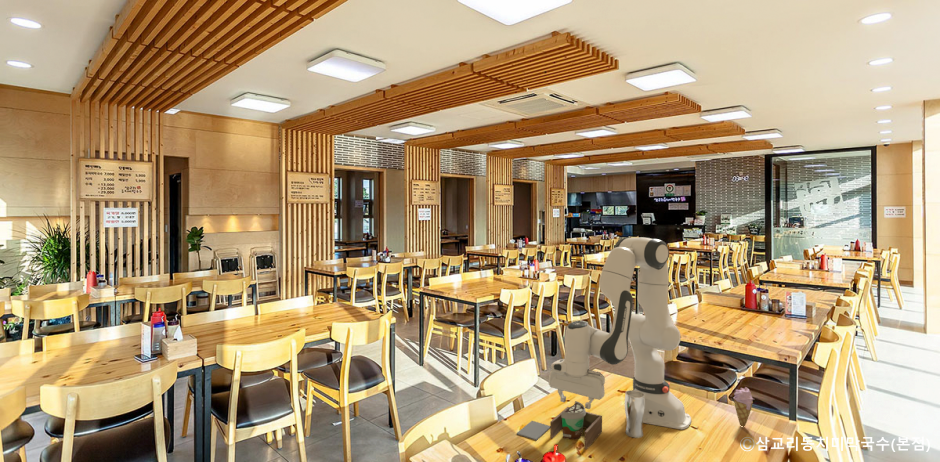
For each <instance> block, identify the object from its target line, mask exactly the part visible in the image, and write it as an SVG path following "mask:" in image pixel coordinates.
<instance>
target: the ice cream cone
mask: <svg viewBox="0 0 940 462" xmlns="http://www.w3.org/2000/svg"><path fill="white" fill-rule="evenodd" d="M733 395H734V397H732V398H733V402H734V407H735V411H736V416H737V419H738V423H739V426H740V425H741V426H743V427H744V426H745V427H746V425H747V421H748V420H749V417H750V415H751V414H750V413H751V411H752V407H753V403H754V402H753V400H755V398H753V396H752V391H750V389H749V388H748V387H746V386H745V387H744V388H743V387H740V389H735V392H733ZM741 426H740V427H741ZM743 427H742V428H743ZM745 427H744V428H745Z"/></svg>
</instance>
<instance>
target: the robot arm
mask: <svg viewBox="0 0 940 462" xmlns="http://www.w3.org/2000/svg"><path fill="white" fill-rule="evenodd" d="M669 257H670V249H669V246H668V245H667V243H666V242H665V241H663V240H661V239H658V238H650V237H644V236H643V237H642V236H641V237H629V236H628V237H622V238H620V239H618V240H617V241H616V243H615V244H614V247H613V248H612V249H611V250H610V252H609V254H608V255H607V258H606V260H605V262H604V265H603V267H602V270H601V273H600V276H599V280H598V281H599V282H598V286H599V290H600V292H601V293H602V294H603V295H604V297H605V298H606V299H608V300H609V301H610V302H611V303H612V305H613V307H614V315H613V319H612V327H611V331H610V333H609V332H607V331H604V330H601V329H599V328H595V327H593V326H591V325H590V324H589V323H588V322H586V321H582V320H577V321H572V322H570V323H569V324H567V327H566V330H565V335H564V350H565V354H564V355H563V356H564V358H562V359H558V360H556V361H554V362H553V363H551V370H550V371H549V375H548V385H549V387H550V388H552V389H555V390H557V393H558V395H559V397H560V399H559V400H560V402H562V403H565V402H567V396H565V394H564V392H568V393H571V394H576V395H580V396H583V397H587V399H588V402H586V403H584V408H585V409H588V410H591V407H592V403H593V401H594V400H601V399H603V398H604V396H605V383H606V382H605V381H606V377H605V376H604V375H603V373H602V372H600V371H595V370H593V369H592V370H591V369H590V356H593V357H595V358H598V359H600V360H602V361H604V362H606V363H608V364H609V365H612V366H613V365H618V364H620V363H622V362H623V361H624V360H625V359H626V358H627V355H628V353H629V351H628V350H629V345H630V347H631V350H632V355H633V361H634V376H633V380H632V390H635V391H640V392H642V393H643V394H644V395H645V396H644V397H645V412H644V417H643V422H642V424H648V425H649V424H650V425H653V426H659V427H665V428H670V429H677V430H685V429H688V427H690V426H691V424H692V416H691V415H690V414H689V413H686V411H685V410H686V409H685V406H684V403H683V401H681V400H680V399H679V398H678V397H677V396H675V394H673V392H671V391H670V385H671V383H670V381H669V382H667V381H666V380H665V361H664V359H663V357H662V355H660V353H659V351H658V350H660V351H662V350H663V351H673V350H675V349H676V348H678V346H679V345H680V342H681V338H682V337H681V332H680V330H679V328H678V326H676V325H675V323H674V321H673V319H672V316H671V313H670V310H669V304H668V301H669V300H668V299H669V298H668V296H669V266H668V260H669ZM636 267H639V272H638V273H639V274H638V283H637V284H638V285H637V302H638V304H639V306H640V307H641V308H642V310H643V313H644V314H640V313H632V312H633V306H634V300H633V295H632V294H631V284H632V279H633V276H634V272H635V268H636ZM629 343H630V344H629ZM689 425H690V426H689Z"/></svg>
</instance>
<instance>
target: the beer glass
mask: <svg viewBox="0 0 940 462" xmlns="http://www.w3.org/2000/svg"><path fill="white" fill-rule="evenodd" d="M644 396H645V395H644V394H643V393H642V392H640V391H635V390H633V389H631V390H626V391H625V396H624V411H625V417H626V418H625V419H626V428H625V435H626V436H628V437H630V438H634V439H640V438H642V437H644V431H643V423H642V422H643V417H644V412H645V397H644Z"/></svg>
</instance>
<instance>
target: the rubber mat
mask: <svg viewBox="0 0 940 462" xmlns="http://www.w3.org/2000/svg"><path fill="white" fill-rule="evenodd" d="M549 430H550V425H547V424H544V423H542V422H538V421H535V420H531V421H530V422H528V423H527V424H526V425H525V426H523V427H522V428H521V429H520V430H519V431H517V432H516V435H517V436H521V437H524V438H527V439H529V440H534V441H538V440H539V439H540V438H541V437H543V435H544V434H545V433H547V432H548V431H549Z"/></svg>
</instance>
